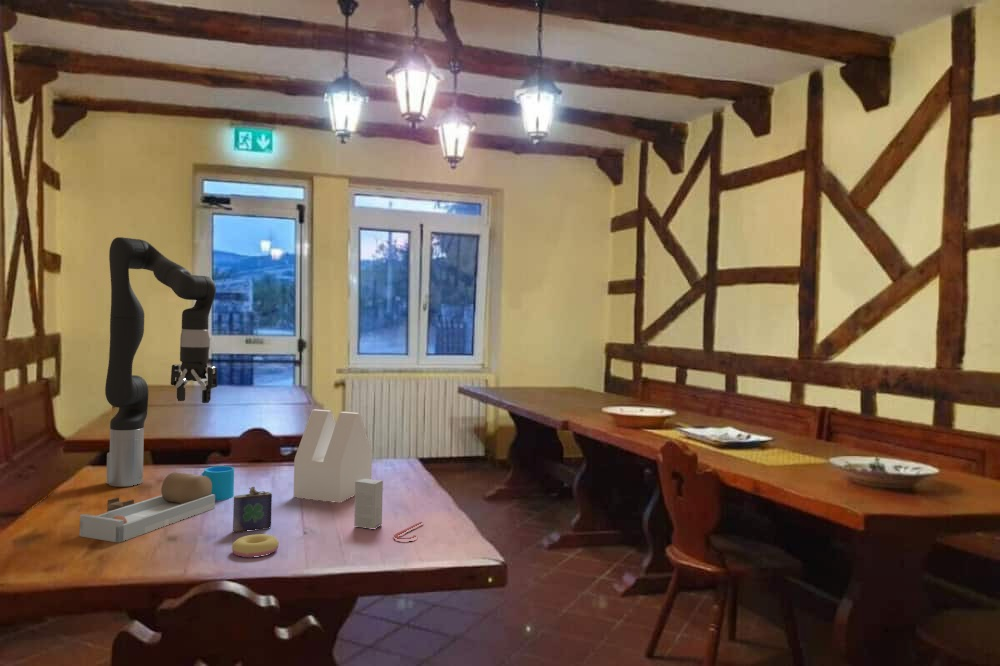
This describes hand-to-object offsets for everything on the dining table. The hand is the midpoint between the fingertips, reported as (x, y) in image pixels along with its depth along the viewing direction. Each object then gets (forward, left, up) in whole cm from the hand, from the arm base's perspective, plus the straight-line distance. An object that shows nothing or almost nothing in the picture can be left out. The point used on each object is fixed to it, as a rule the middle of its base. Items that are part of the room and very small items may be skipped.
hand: (193, 401), depth 202 cm
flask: (+33, -16, -28) cm, 46 cm away
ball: (+6, -31, -26) cm, 41 cm away
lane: (+6, -20, -28) cm, 35 cm away
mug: (+3, +6, -28) cm, 29 cm away
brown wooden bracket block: (-7, -18, -28) cm, 34 cm away
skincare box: (+58, -2, -28) cm, 65 cm away
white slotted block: (+32, +24, -28) cm, 49 cm away
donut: (+44, -29, -29) cm, 60 cm away
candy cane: (+71, -2, -29) cm, 76 cm away
